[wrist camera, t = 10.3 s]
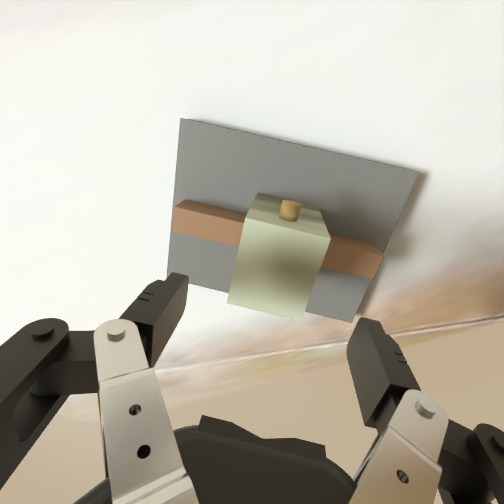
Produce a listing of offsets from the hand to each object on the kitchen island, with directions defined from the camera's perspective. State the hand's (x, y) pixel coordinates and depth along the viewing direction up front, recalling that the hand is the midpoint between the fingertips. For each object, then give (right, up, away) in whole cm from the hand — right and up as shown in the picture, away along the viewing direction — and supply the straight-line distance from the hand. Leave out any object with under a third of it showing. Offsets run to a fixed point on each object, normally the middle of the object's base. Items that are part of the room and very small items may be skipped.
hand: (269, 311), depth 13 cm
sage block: (+1, +4, +11) cm, 11 cm away
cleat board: (+1, +5, +12) cm, 13 cm away
